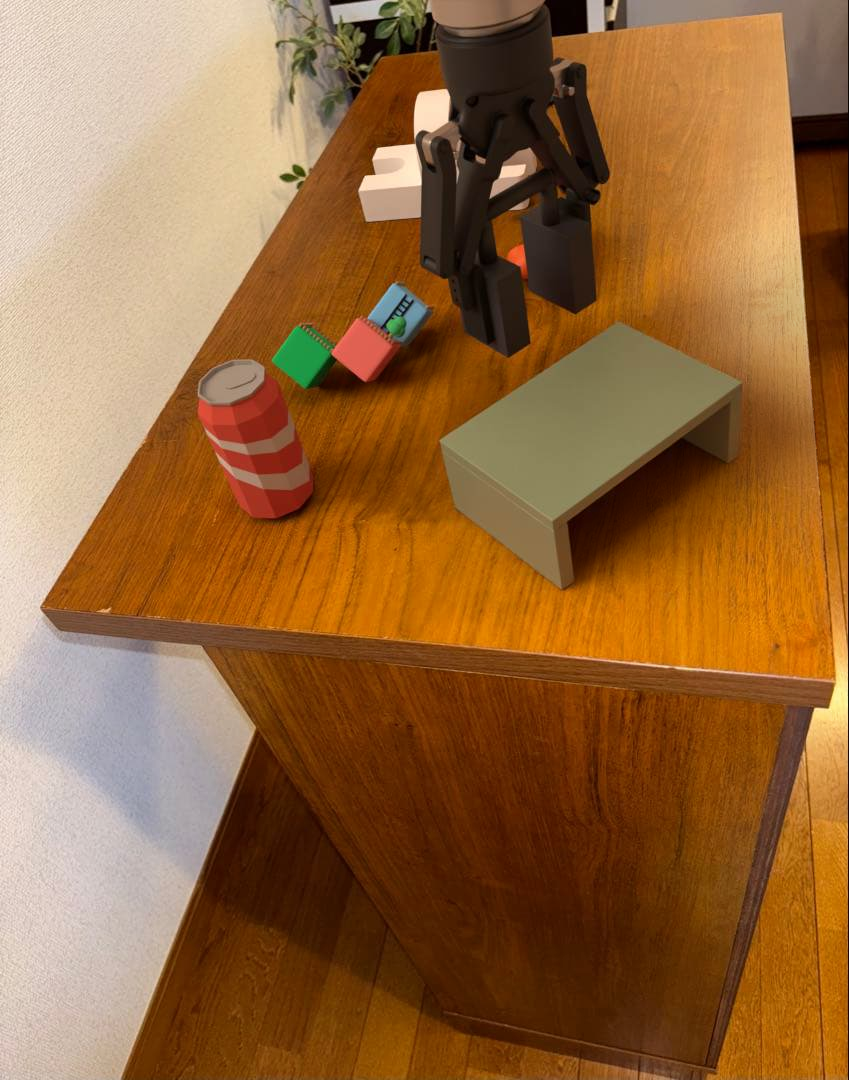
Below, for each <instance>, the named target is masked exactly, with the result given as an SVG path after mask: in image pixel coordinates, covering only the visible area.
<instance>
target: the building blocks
mask: <svg viewBox="0 0 849 1080" xmlns="http://www.w3.org/2000/svg"><path fill="white" fill-rule="evenodd" d="M406 285H407V283H406V282H404V281H400V280H396V281H395V283H394V282H393V283H392V284H391V286H389V288H388V289H387V290H386V292H385V293H384V294H383V296H382V297H381V298H380V300H379V301H378V302H377V303H376V305H375V306H374V308H373V309H372V311H371V312H370V313H369V315H368V316H367V317H364V316H363V315H360V316H358V317H357V318H356V319H355V320H354V321H353V322H352V324H351V325H350V327H349V328H348V329H347V331H346V332H345V333H344V335H343V336H342V338H341V339H340V340H339V341H338V343H337V342H336V341H334V339H331V336H327V334H326V333H324V331H321V329H320V328H318V326H316V325H314V323H313V322H300V324H299V325H296V326H295V327H294V328H293V329H292V331H291V332H290V334H289V335H288V337H287V338H286V339H285V340H284V342H283V344H282V345H281V346H280V347H279V349H278V350H277V351H276V353H275V355H274V356H273V357H272V359H271V362H272V364H274V366H276V367H277V368H278V369H280V370H281V372H284V374H285V375H287V376H288V377H289V378H291V379H292V381H294V382H295V383H297V384H298V385H299V386H301V387H302V388H303V389H304V390H309V389H312V388H313V389H314V388H317V387H319V385H320V384H321V383H322V382H323V380H324V379H325V378H326V376H327V375H328V374H329V372H330V371H331V369H332V368H333V367H334V365H335V364H336V363H337V361H338V362H339V363H341V364H342V365H343V366H344V367H346V368H347V369H348V370H349V371H351V373H353V374H354V375H356V377H358V378H359V379H360V380H362V382H364V383H369V382H373V381H375V380H377V379H378V378H379V376H380V375H381V374H382V372H383V371H384V369H385V368H386V367H387V366H388V364H389V363H390V362H391V361H392V359H393V358H394V356H395V355H396V354H397V352H398V351H399V350H400V349H401V347H405V346H406V347H407V346H409V345H411V344H412V342H413V340H415V338H416V337H417V335H418V334H419V333H420V332H421V330H422V329H423V328H424V326H425V325H426V323H427V322H428V321H429V320H430V318H431V317H432V316H433V314H434V310H435V309H436V307H435V306H433V305H427V304H426V303H425V302H424V301H422V299H420V298H419V297H418V296H416V295H415V294H414V293H412V291H410V290H409V289H408V288H407V287H406ZM313 326H314V327H313ZM323 334H324V335H323ZM329 340H330V341H329ZM333 342H334V343H333Z"/></svg>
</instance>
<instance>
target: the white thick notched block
mask: <svg viewBox="0 0 849 1080" xmlns="http://www.w3.org/2000/svg"><path fill="white" fill-rule="evenodd" d="M414 104H415V105H414V111H413V135H414V137H413V138H414V139H415V138H416V135H417V133H419V132H420V131H422V130H425V131H428V132H431V133H432V132H434V131H435V130H437V129H438V128H440V127H441V126H443V125H444V124H446V123H447V122H448V117H449V113H450V106H451V99H450V96H449V93H448V90H447V88H443V89H442V88H441V89H434V90H425V91H420V92H419V93H418V94H417V96H416V100H415V103H414ZM460 145H461V140H460V139H459V141H458V143H457V146H456V151H458V152H459V149H460ZM476 160H477V161H478V162H480V163H483V164H485V161H486V159H483V158H481V157H479V156H477V155H476ZM371 161H372V165H373V169H374V174H370V175H364V177H363V179H362V181H361V184H360V186H359V188H358V196H359V199H360V203H361V207H362V208H361V209H362V212H363V215H364V219H365V222H366V223H371V222H383V221H395V220H407V219H418V218H419V219H420V218H421V181H422V165H421V162H420V158H419V155H418V151H417V148H416V144H415V143H411V144H401V145H392V146H382V147H377V148H376V150H375V152H374V154H373V156H372V159H371ZM455 163H456V171H457V180H458V176H459V169H458V167H457V160H455ZM537 167H538V162H537V157H536V156H535V154H534V153H533V151H532V150H531V149H530V148H528V149H526V150H521V151H517V152H516V153H515V154H514V155H513V156H512V157H511V158H510V159H508V160H507V161H505V162H503V165H502V169H501V173H500V176H499V178H498V179H497V180H496V181H494V182H493V186H492V190H491V194H490V198H491V197H493V196H495V195H497V194H498V193H500V192H502V191H504V190H505V189H507V188H509V187H511V186H512V185H514V184H516V183H517V182H519V181H521V180H523V179H524V178H526V177H528V176H530V175H531V174H533V173H535V172H536V171H537ZM490 198H489V199H490ZM530 199H531V197H530V198H529V199H527V200H525V201H524V202H522V203H520V204H518V205H517V206H515V207H513V208H512V209H510V210H508V211H520V210H525V209H527V208H528V207H529V204H530ZM508 211H507V212H508Z"/></svg>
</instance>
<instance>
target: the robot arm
mask: <svg viewBox="0 0 849 1080" xmlns="http://www.w3.org/2000/svg"><path fill="white" fill-rule="evenodd" d="M545 1H546V0H429V4H430V10H431V15H432V19H433V20H434V21H435V22H436V23H438V25H437V28H435V31H434V37H435V44H436V48H437V56H438V61H439V67H440V71H441V77H442V82H443V83H444V86H445V89H447V90H448V93H449V96H450V99H451V106H450V113H449V117H448V122H447V123H446V124H444V125H443V126H441V127H440V128H438V129H437V130H435V131H434V132H432V133H431V132H428V131H425V130H422V131H420V132H419V133H417V135H416V138H414V144H416V148H417V151H418V155H419V158H420V162H421V165H422V181H421V217H420V239H419V240H420V241H419V265H420V267H421V268H422V269H424V270H426V271H428V272H430V273H431V274H433V275H435V276H437V277H439V278H440V279H443V280H447V281H448V282H447V283H448V287H449V291H450V296H451V301H452V303H453V304H454V305H455V306H456V307H458V308H459V307H460V308H461V309H462V313H463V318H464V323H465V328H466V332H467V333H468V334H470V335H472V336H474V337H475V338H477V339H479V340H480V341H482V342H484V343H486V344H487V345H488V344H490V343H491V342H493V341H495V338H494V332H493V326H492V320H491V314H490V308H489V302H488V296H487V290H486V284H485V278H484V270H483V268H482V267H480V266H478V265H476V264H474V262H475V257H476V253H477V249H478V245H479V241H480V236H481V232H482V228H483V224H484V219H485V215H486V211H487V207H488V203H489V198H490V194H491V190H492V186H493V182H494V181H496V180H497V179H498V178H499V176H500V173H501V169H502V165H503V162H505V161H507V160H508V159H510V158H511V157H512V156H513V155H514V154H515V153H516V152H517V151H521V150H526V149H528V148H530V149H531V150H532V151H533V153H534V154H535V156H536V159H538V161H539V163H540V164H541V165H542V168H544V167H550V168H552V169H553V170H554V172H555V175H556V178H555V181H556V184H557V189H559V191H560V192H561V193H562V194H563V195H564V196H565V197H563V196H558V205H559V210H560V211H563V212H565V213H567V214H570V215H572V216H574V217H577V218H579V219H582V220H584V221H586V222H589V223H591V229H593V225H592V224H593V223H592V211H591V206H595V205H597V204H598V203H599V202H600V200H601V195H602V194H601V190H599V189H596V188H597V187H598V186H599V185H605V184H607V182H608V181H609V179H610V175H611V171H610V168H609V165H608V162H607V158H606V155H605V152H604V148H603V145H602V142H601V138H600V135H599V130H598V128H597V124H596V121H595V118H594V115H593V111H592V108H591V104H590V100H589V98H588V78H587V77H588V73H587V72H588V70H587V66H586V64H584V63H582V62H577V61H574V60H570V59H566V58H564V57H559V56H558V57H554V47H553V46H554V45H553V34H552V24H551V14H550V13H551V12H550V9H549V7H548V6H547V5H546V4H545ZM551 97H553V101H552V102H553V105H554V108H555V110H556V114H557V117H558V120H559V123H560V126H561V129H562V132H563V135H564V138H565V141H566V144H567V147H568V149H567V147H566V146H565V144H564V143H563V141H562V140H561V139H560V137H561V133H560V132H559V130H558V128H557V127H556V126H555V124H554V122H553V121H552V120H551V118H550V116H549V115H548V113H547V111H548V108H549V105H550V103H551V102H550V100H551ZM459 139H460V140H461V145H460V149H459V152H458V151H456V146H457V143H458V141H459ZM476 155H477V156H479V157H481V158H483V159H486V161H485V164H483V163H480V162H478V161H477V160H476ZM455 160H457V167H458V169H459V176H458V180H457V171H456V163H455ZM458 253H459V254H458ZM460 308H459V309H460ZM468 334H467V335H468ZM470 335H469V336H470ZM475 338H474V339H475ZM477 339H476V340H477ZM480 341H479V342H480ZM482 342H481V343H482ZM487 345H486V346H487Z"/></svg>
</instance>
